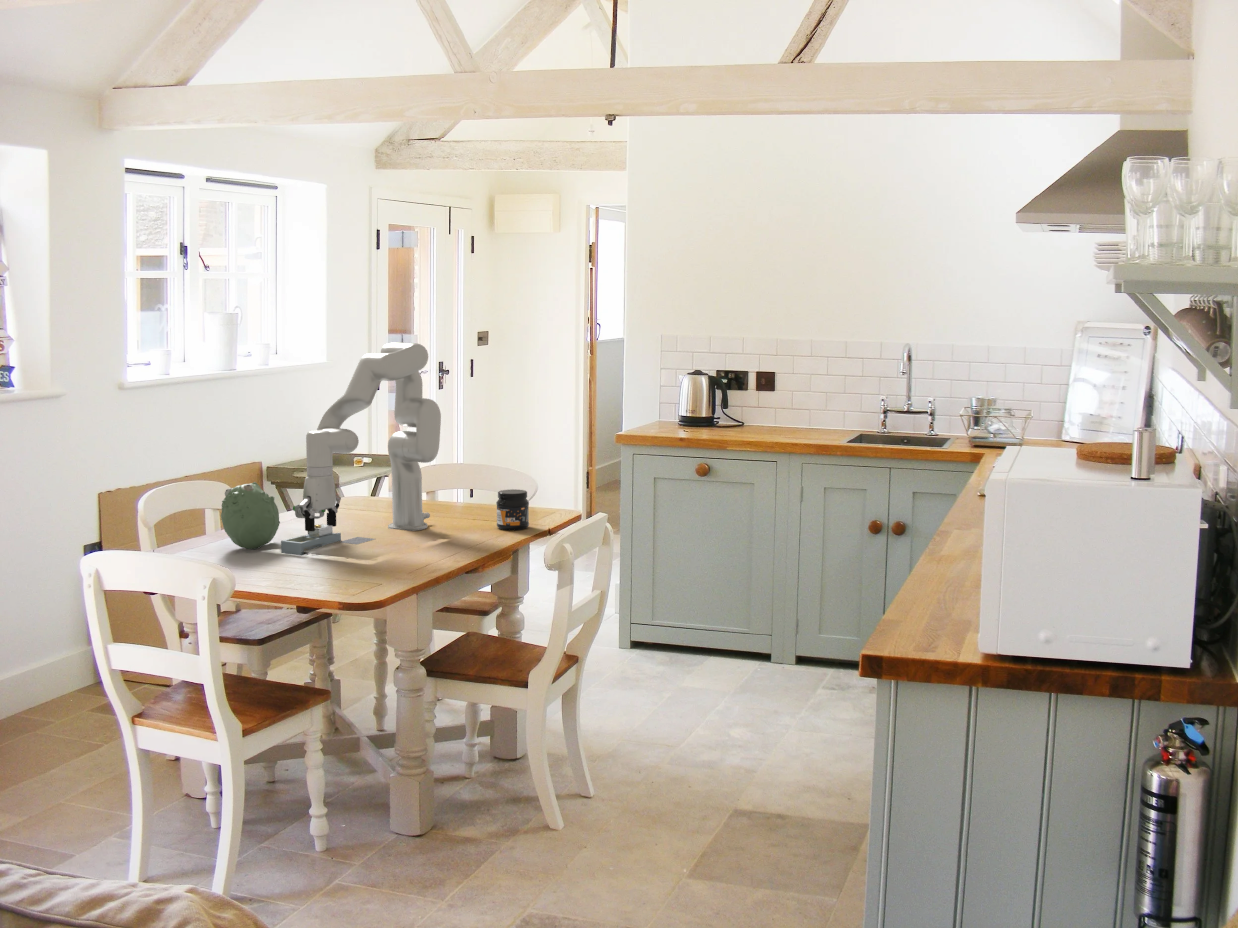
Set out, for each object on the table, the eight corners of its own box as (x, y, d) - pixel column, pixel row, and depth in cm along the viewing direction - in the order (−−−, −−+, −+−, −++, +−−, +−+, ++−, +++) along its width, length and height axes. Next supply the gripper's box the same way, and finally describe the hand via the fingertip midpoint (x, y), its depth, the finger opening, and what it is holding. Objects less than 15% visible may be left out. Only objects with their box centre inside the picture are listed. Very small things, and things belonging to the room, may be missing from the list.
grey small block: (322, 533, 362) (321, 522, 362) (332, 534, 361) (332, 523, 360) (308, 536, 357) (308, 525, 357) (319, 537, 355) (318, 526, 355)
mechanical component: (323, 538, 370) (322, 507, 369) (292, 537, 372) (291, 505, 371) (327, 537, 373) (326, 505, 372) (297, 535, 375) (296, 504, 374)
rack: (322, 541, 365) (322, 530, 365) (342, 544, 362) (341, 532, 362) (281, 552, 350) (280, 540, 349) (301, 555, 346) (301, 543, 346)
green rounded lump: (291, 543, 363) (289, 478, 360) (259, 556, 345) (256, 487, 342) (245, 541, 367) (242, 476, 364) (210, 553, 348) (207, 485, 346)
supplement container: (492, 530, 385) (491, 493, 383) (502, 524, 395) (502, 488, 393) (523, 531, 382) (522, 494, 381) (533, 525, 392) (533, 489, 391)
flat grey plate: (357, 540, 368) (357, 536, 367) (375, 542, 364) (375, 538, 364) (338, 545, 360) (338, 542, 359) (357, 548, 356) (356, 544, 356)
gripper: (329, 468, 366) (330, 523, 368) (290, 474, 351) (291, 531, 353) (348, 469, 363) (349, 525, 365) (309, 476, 347) (311, 534, 349)
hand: (320, 528), depth 359 cm, fingers open, 9 cm apart
